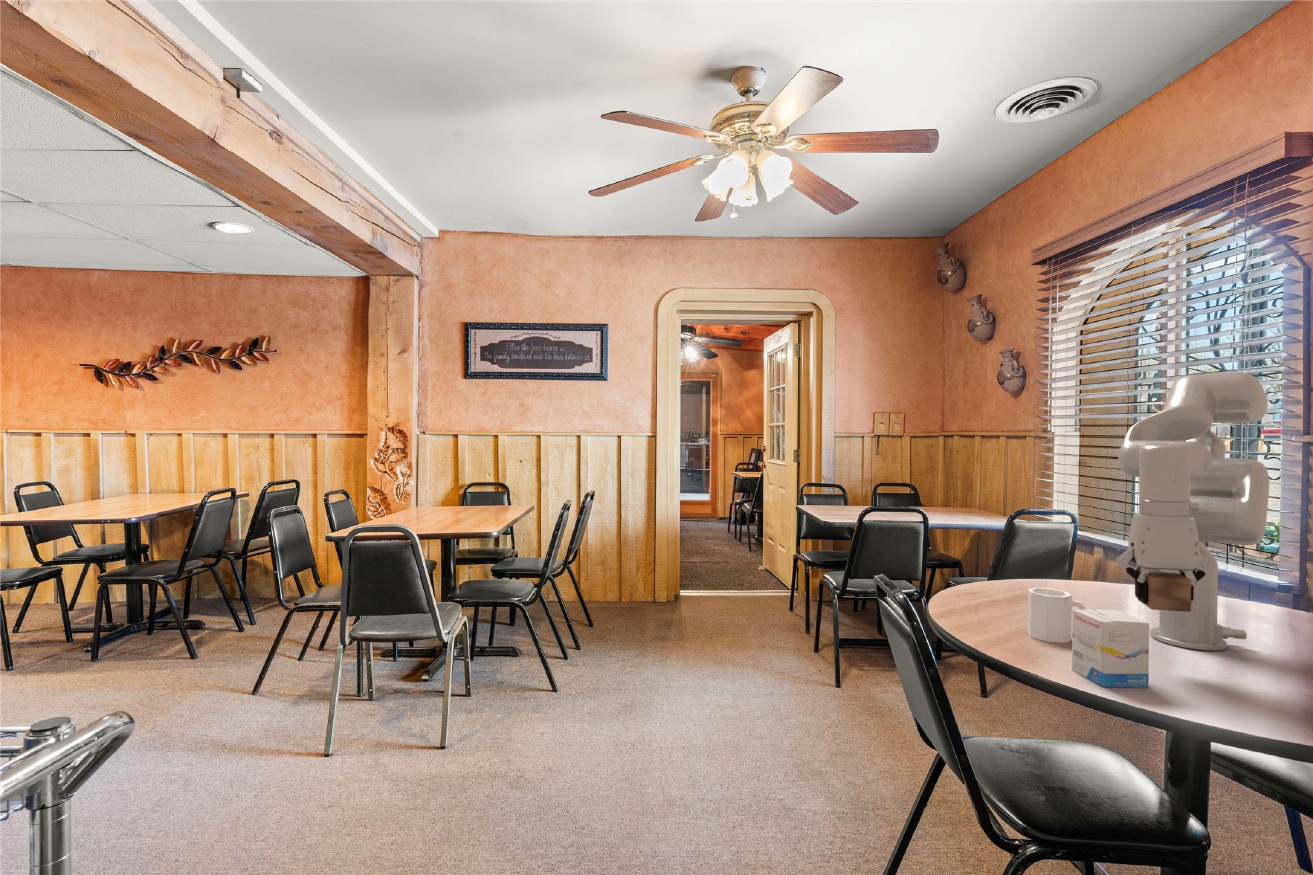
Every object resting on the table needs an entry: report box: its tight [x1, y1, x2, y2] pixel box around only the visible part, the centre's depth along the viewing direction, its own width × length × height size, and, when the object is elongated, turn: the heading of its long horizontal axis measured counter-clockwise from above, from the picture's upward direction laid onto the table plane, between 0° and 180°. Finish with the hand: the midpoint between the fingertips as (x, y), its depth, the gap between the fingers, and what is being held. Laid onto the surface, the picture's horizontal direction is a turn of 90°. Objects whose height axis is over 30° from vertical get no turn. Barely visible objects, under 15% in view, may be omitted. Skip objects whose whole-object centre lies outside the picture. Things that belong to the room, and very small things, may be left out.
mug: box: [1026, 587, 1088, 644], centre depth 137 cm, size 12×9×10 cm
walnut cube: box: [1139, 569, 1191, 612], centre depth 119 cm, size 6×6×6 cm
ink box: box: [1071, 608, 1150, 689], centre depth 114 cm, size 9×8×12 cm
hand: (1163, 602), depth 119 cm, fingers closed on walnut cube, 6 cm apart
